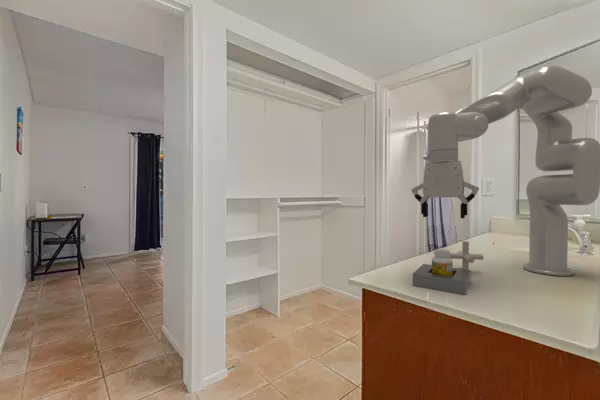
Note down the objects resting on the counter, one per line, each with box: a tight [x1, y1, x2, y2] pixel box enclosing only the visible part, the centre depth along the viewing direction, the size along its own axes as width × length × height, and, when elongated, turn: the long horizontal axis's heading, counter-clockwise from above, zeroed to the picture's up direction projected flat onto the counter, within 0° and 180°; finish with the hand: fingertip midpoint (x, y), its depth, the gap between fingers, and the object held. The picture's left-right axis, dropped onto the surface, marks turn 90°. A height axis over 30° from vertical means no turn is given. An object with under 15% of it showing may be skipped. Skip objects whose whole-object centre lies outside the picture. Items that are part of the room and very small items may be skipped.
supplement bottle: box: [431, 248, 454, 276], centre depth 82 cm, size 5×5×10 cm
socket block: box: [412, 263, 472, 296], centre depth 81 cm, size 13×13×4 cm
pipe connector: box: [449, 240, 484, 270], centre depth 94 cm, size 10×10×10 cm
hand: (443, 217), depth 81 cm, fingers open, 9 cm apart
